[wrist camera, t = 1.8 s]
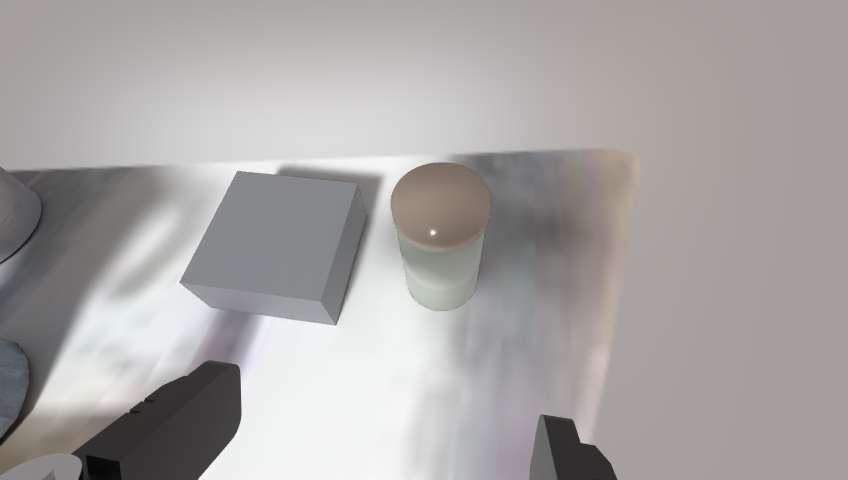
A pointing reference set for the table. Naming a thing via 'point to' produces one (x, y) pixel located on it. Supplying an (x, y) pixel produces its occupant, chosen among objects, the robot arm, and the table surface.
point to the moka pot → (12, 383)
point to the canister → (441, 232)
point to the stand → (279, 247)
